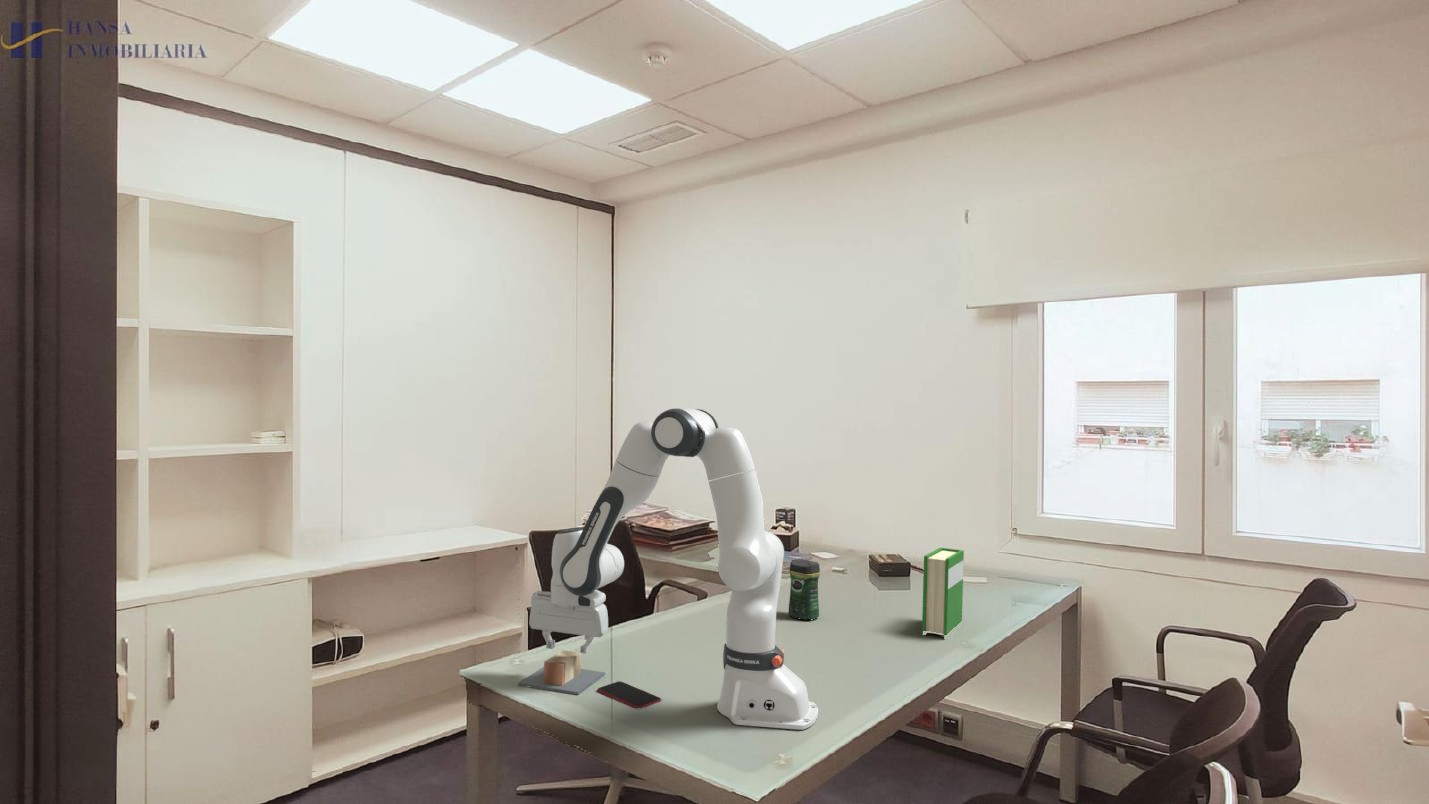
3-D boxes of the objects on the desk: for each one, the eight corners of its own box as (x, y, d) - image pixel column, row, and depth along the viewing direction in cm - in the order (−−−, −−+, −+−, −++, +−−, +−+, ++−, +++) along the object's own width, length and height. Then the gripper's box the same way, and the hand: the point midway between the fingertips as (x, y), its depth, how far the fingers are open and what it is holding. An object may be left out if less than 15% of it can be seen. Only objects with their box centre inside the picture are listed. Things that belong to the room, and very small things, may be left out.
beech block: (580, 653, 187) (562, 664, 178) (580, 673, 187) (562, 685, 178) (562, 650, 188) (544, 661, 180) (562, 670, 188) (543, 682, 180)
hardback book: (946, 639, 224) (948, 559, 224) (921, 635, 228) (924, 555, 228) (961, 626, 239) (963, 550, 239) (938, 621, 243) (940, 547, 243)
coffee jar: (823, 618, 243) (824, 561, 243) (807, 622, 238) (808, 564, 238) (799, 612, 250) (801, 556, 250) (784, 616, 245) (785, 558, 245)
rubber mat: (605, 674, 188) (605, 672, 188) (578, 694, 174) (578, 692, 174) (548, 666, 193) (548, 663, 193) (517, 685, 179) (518, 682, 179)
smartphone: (638, 707, 167) (595, 688, 177) (638, 711, 167) (595, 692, 177) (662, 698, 172) (619, 680, 183) (662, 702, 172) (619, 684, 183)
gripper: (525, 592, 186) (523, 649, 186) (600, 601, 179) (598, 659, 179) (538, 587, 192) (537, 641, 192) (611, 595, 185) (610, 651, 185)
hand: (567, 650), depth 185 cm, fingers open, 8 cm apart
